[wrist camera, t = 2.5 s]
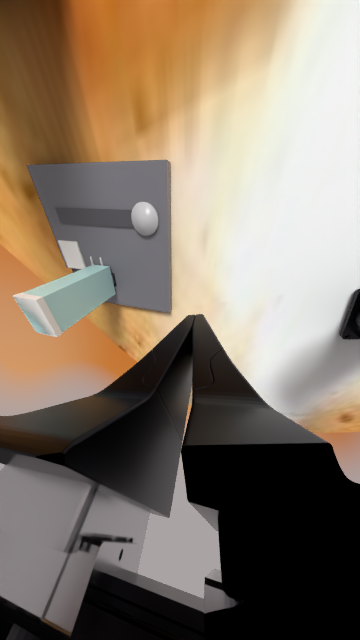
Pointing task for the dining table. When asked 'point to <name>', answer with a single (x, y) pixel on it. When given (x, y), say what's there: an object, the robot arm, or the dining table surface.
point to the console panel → (113, 223)
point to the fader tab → (66, 299)
